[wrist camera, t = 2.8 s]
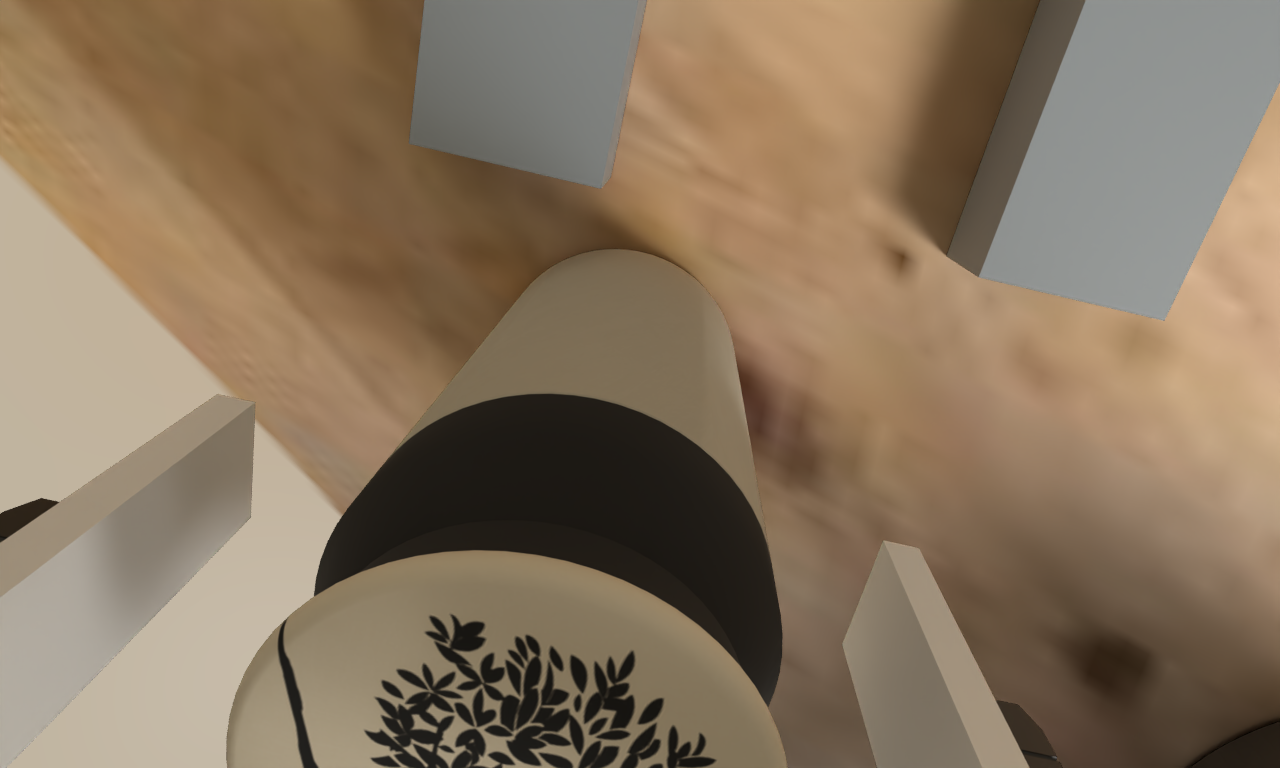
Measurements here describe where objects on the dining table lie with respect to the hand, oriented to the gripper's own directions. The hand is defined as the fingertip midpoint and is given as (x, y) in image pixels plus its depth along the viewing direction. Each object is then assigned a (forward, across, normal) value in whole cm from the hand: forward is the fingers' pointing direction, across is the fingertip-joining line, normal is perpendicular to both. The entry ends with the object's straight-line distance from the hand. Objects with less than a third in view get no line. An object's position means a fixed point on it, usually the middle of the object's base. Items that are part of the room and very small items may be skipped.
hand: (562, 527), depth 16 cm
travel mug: (+12, 0, 0) cm, 12 cm away
